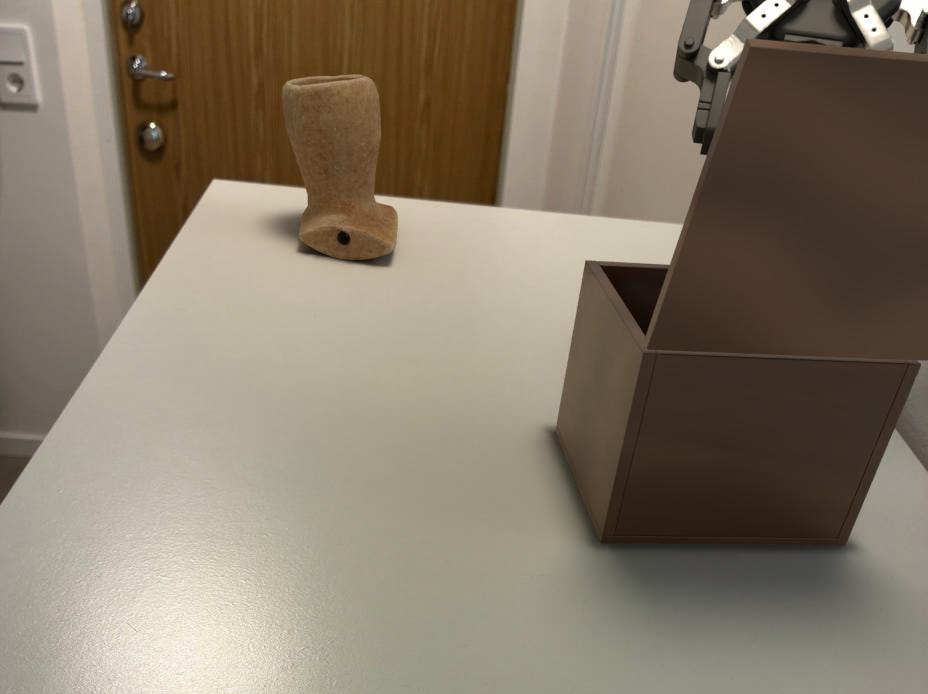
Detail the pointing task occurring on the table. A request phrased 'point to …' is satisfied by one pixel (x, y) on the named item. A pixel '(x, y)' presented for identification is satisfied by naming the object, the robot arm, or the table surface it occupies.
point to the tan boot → (339, 165)
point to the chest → (715, 428)
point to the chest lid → (808, 211)
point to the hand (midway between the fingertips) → (786, 159)
